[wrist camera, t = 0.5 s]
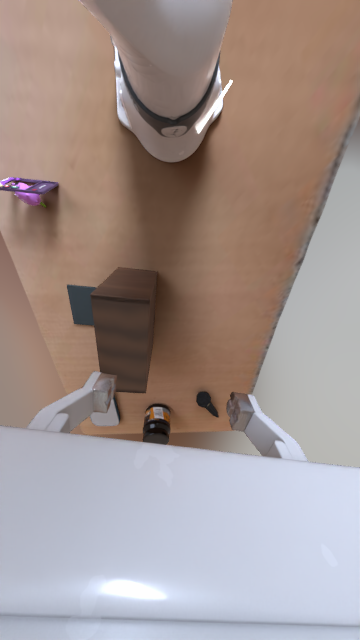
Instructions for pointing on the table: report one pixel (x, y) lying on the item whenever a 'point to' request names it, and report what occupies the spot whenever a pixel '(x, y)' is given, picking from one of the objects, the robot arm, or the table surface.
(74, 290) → the mat
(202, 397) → the microphone
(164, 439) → the supplement container
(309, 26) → the table surface
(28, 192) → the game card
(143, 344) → the desk shelf
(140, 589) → the robot arm
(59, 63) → the table surface
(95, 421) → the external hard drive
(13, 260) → the table surface
